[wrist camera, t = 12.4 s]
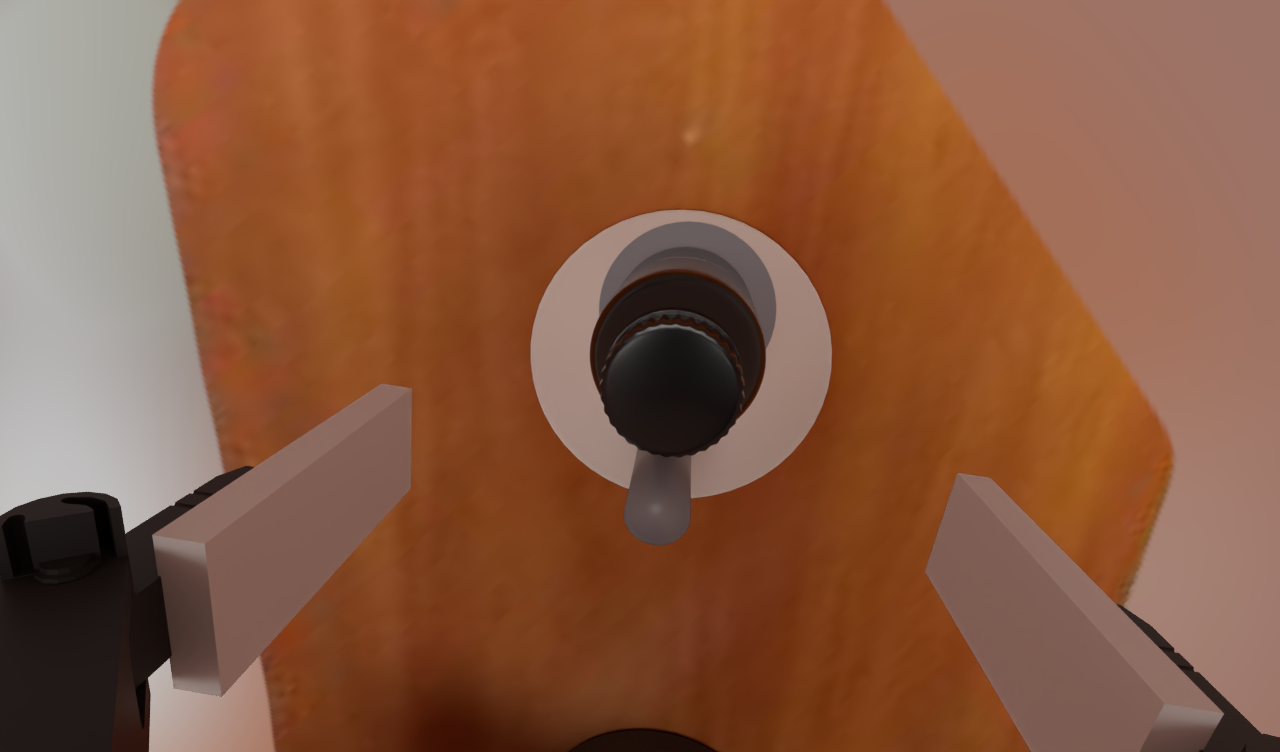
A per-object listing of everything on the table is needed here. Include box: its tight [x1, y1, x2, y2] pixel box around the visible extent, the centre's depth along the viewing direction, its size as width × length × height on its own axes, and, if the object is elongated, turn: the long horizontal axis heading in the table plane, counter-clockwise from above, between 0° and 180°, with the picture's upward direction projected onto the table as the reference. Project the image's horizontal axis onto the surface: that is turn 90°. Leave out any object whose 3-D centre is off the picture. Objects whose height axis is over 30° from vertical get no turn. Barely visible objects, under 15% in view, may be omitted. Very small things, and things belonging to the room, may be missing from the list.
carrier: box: [531, 209, 832, 545], centre depth 30 cm, size 16×16×8 cm
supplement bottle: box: [590, 247, 766, 458], centre depth 25 cm, size 7×7×12 cm
